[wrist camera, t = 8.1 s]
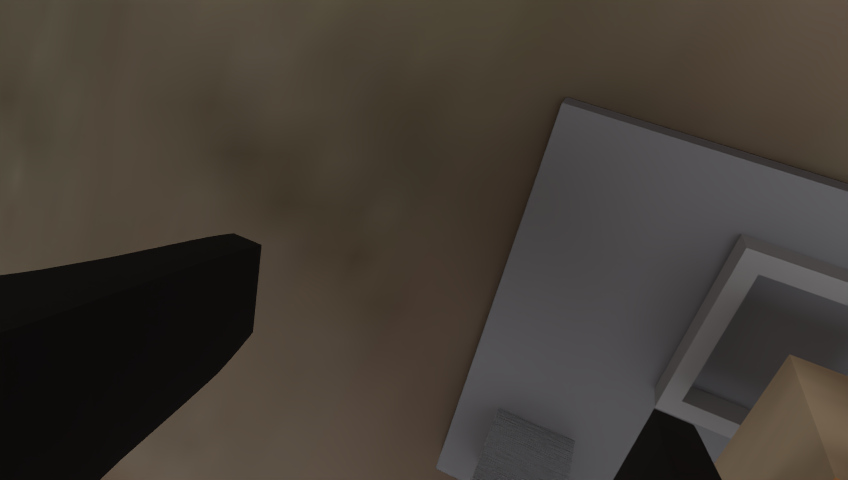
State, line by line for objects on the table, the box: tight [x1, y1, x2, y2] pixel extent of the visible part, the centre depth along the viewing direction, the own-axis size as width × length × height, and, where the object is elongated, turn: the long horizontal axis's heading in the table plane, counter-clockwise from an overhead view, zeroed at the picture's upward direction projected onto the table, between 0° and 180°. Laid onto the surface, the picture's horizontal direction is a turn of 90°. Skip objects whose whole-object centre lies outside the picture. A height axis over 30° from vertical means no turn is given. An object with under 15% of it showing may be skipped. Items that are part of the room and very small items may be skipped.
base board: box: [436, 97, 848, 480], centre depth 19 cm, size 16×16×2 cm
